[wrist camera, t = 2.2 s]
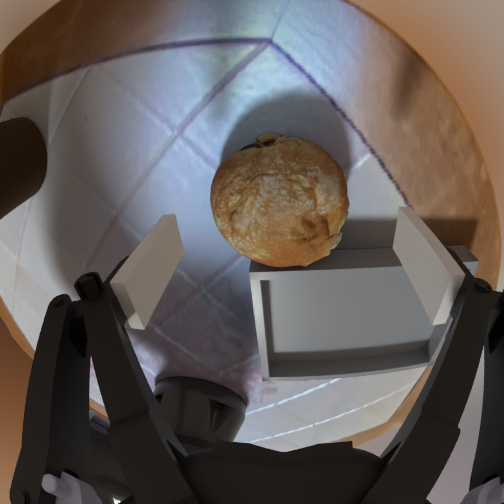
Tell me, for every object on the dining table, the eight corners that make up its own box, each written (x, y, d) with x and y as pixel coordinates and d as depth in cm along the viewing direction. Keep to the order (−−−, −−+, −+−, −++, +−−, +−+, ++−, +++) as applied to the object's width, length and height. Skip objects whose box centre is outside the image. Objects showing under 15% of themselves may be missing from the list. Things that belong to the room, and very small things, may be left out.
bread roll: (314, 127, 22) (302, 90, 14) (368, 235, 22) (382, 246, 14) (218, 178, 25) (170, 167, 18) (265, 279, 25) (233, 308, 18)
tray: (264, 361, 33) (262, 380, 30) (252, 252, 25) (249, 272, 22) (425, 347, 30) (432, 364, 27) (464, 245, 22) (478, 261, 20)
